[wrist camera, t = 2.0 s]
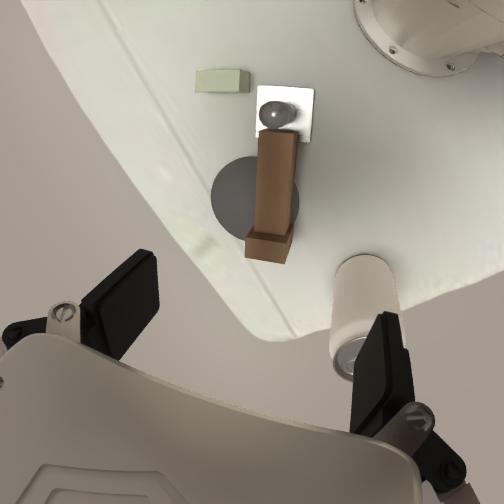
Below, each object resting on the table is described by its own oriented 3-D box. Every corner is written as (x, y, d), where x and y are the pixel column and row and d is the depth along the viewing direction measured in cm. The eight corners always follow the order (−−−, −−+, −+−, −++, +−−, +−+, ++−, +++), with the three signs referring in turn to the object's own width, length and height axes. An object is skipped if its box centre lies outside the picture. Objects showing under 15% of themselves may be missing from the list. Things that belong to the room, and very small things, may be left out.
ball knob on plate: (314, 89, 24) (308, 85, 19) (310, 141, 26) (304, 150, 21) (259, 85, 25) (241, 82, 20) (257, 136, 27) (239, 144, 22)
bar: (302, 131, 25) (295, 136, 21) (292, 242, 30) (284, 264, 26) (262, 127, 26) (249, 132, 22) (257, 236, 31) (244, 257, 27)
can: (322, 275, 32) (310, 357, 22) (369, 241, 29) (381, 317, 19) (357, 312, 33) (356, 396, 23) (403, 282, 30) (421, 365, 20)
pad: (303, 162, 27) (302, 162, 27) (294, 247, 31) (293, 249, 31) (212, 153, 29) (210, 154, 29) (213, 234, 33) (211, 236, 33)
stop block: (249, 72, 24) (239, 69, 22) (248, 92, 25) (238, 91, 23) (209, 73, 25) (196, 71, 23) (208, 92, 26) (195, 92, 23)
